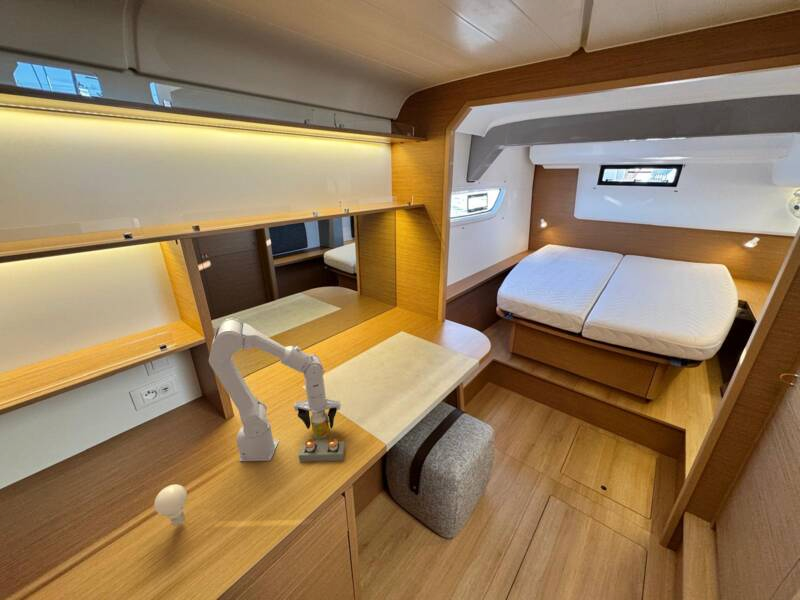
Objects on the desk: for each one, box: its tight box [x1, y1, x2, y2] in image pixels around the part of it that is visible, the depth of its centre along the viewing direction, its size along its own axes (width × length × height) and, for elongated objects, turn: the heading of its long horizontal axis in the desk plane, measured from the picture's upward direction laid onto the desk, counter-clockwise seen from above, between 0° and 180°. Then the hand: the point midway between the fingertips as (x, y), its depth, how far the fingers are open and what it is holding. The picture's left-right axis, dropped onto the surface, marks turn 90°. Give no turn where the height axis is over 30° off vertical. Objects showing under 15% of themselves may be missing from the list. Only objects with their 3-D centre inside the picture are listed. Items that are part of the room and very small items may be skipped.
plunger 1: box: [304, 438, 316, 453], centre depth 96 cm, size 3×3×4 cm
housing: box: [298, 417, 346, 462], centre depth 103 cm, size 13×18×2 cm
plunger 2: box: [327, 437, 339, 452], centre depth 96 cm, size 3×3×4 cm
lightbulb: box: [153, 483, 188, 527], centre depth 77 cm, size 6×6×11 cm
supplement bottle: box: [310, 410, 330, 439], centre depth 104 cm, size 5×5×10 cm
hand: (320, 426), depth 105 cm, fingers open, 7 cm apart
